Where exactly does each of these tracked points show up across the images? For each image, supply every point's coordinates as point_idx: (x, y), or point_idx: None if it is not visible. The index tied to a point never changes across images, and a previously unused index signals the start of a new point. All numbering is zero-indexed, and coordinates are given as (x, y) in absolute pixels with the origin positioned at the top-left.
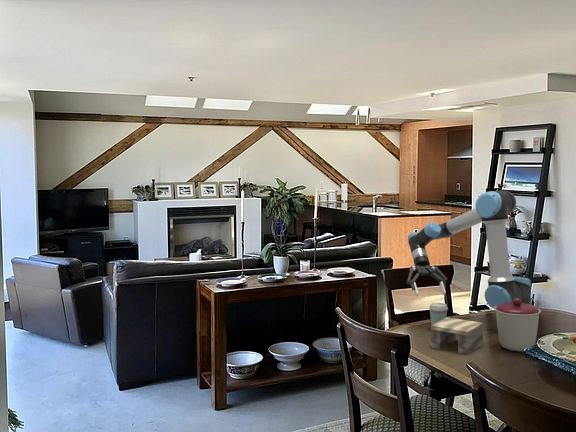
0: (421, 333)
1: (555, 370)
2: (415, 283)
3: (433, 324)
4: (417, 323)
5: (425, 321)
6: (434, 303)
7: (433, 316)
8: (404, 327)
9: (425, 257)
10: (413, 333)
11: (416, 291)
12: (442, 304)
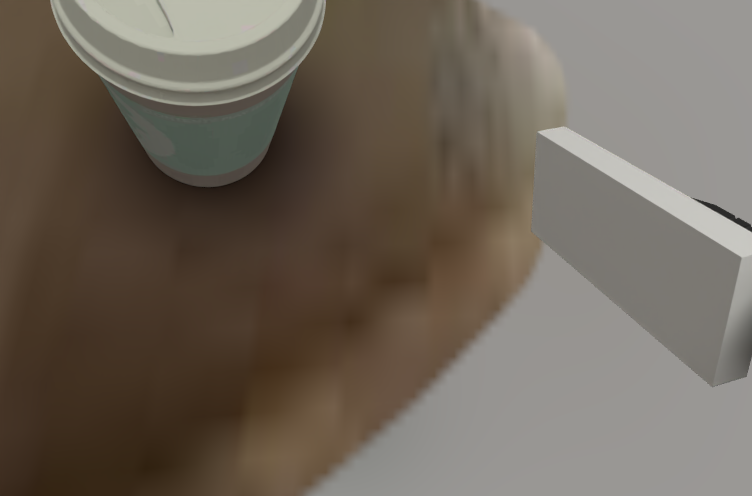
0: (381, 19)
1: None
2: (717, 239)
3: None
4: (411, 348)
5: (317, 442)
6: (236, 34)
7: None
8: None
9: None
10: (449, 21)
11: (589, 145)
12: (108, 11)
